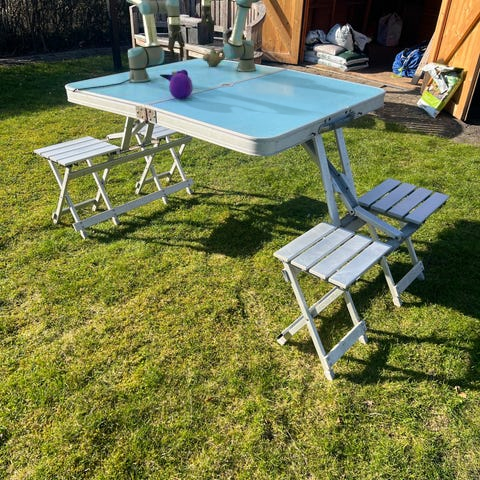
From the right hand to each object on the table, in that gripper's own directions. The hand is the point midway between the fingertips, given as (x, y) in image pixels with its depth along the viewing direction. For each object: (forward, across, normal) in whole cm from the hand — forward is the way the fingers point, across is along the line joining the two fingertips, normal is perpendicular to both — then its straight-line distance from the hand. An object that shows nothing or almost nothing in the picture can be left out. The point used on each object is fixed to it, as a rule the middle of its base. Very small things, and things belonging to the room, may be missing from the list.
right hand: (207, 34), depth 371 cm
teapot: (+26, +7, -2) cm, 27 cm away
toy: (+26, -107, -25) cm, 113 cm away
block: (+26, -83, -14) cm, 88 cm away
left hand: (+6, -83, -14) cm, 84 cm away
